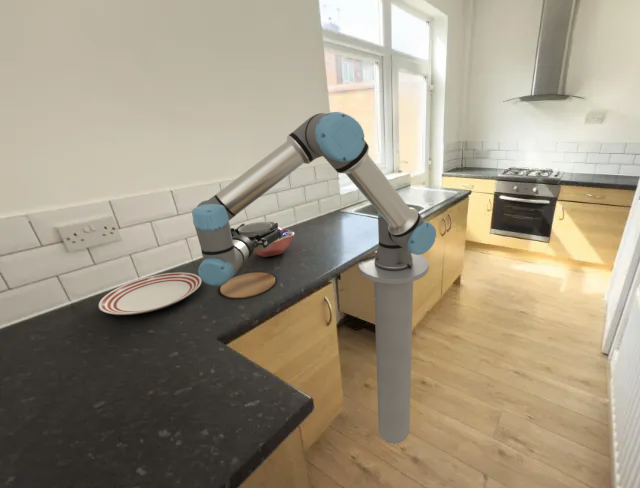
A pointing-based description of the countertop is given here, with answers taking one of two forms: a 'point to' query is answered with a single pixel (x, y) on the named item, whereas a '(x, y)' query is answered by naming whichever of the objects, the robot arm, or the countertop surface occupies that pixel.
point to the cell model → (278, 244)
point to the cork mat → (247, 285)
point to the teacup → (256, 231)
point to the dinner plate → (149, 293)
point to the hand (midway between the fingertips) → (260, 227)
